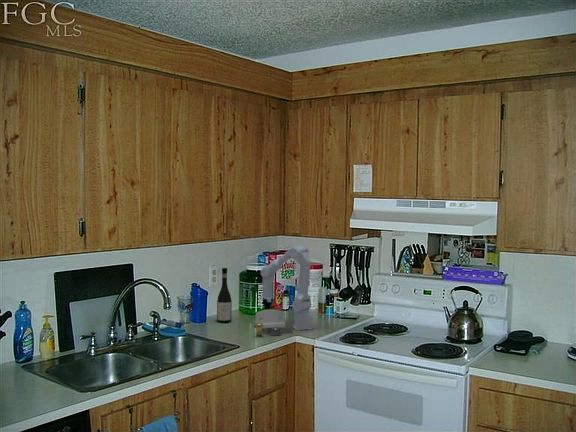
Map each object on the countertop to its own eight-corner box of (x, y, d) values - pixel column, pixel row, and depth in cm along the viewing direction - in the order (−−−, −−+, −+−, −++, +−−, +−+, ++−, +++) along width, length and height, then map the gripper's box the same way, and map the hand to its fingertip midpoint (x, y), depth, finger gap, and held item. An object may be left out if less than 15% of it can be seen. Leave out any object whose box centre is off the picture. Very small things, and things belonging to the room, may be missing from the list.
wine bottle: (231, 323, 307) (231, 269, 305) (216, 323, 306) (217, 269, 305) (231, 319, 315) (231, 267, 313) (217, 319, 314) (217, 267, 313)
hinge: (256, 328, 296) (255, 309, 299) (254, 329, 301) (253, 310, 303) (286, 326, 301) (285, 308, 303) (284, 327, 305) (282, 309, 308)
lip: (292, 332, 289) (292, 326, 289) (294, 335, 283) (294, 328, 283) (256, 333, 286) (256, 327, 285) (257, 336, 280) (257, 329, 280)
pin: (262, 334, 284) (262, 322, 283) (263, 336, 280) (263, 324, 279) (254, 335, 283) (254, 323, 283) (255, 337, 279) (255, 325, 279)
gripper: (258, 286, 318) (258, 309, 319) (262, 290, 304) (261, 315, 305) (271, 285, 320) (270, 309, 320) (274, 290, 305) (274, 315, 306)
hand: (267, 312), depth 313 cm, fingers closed
